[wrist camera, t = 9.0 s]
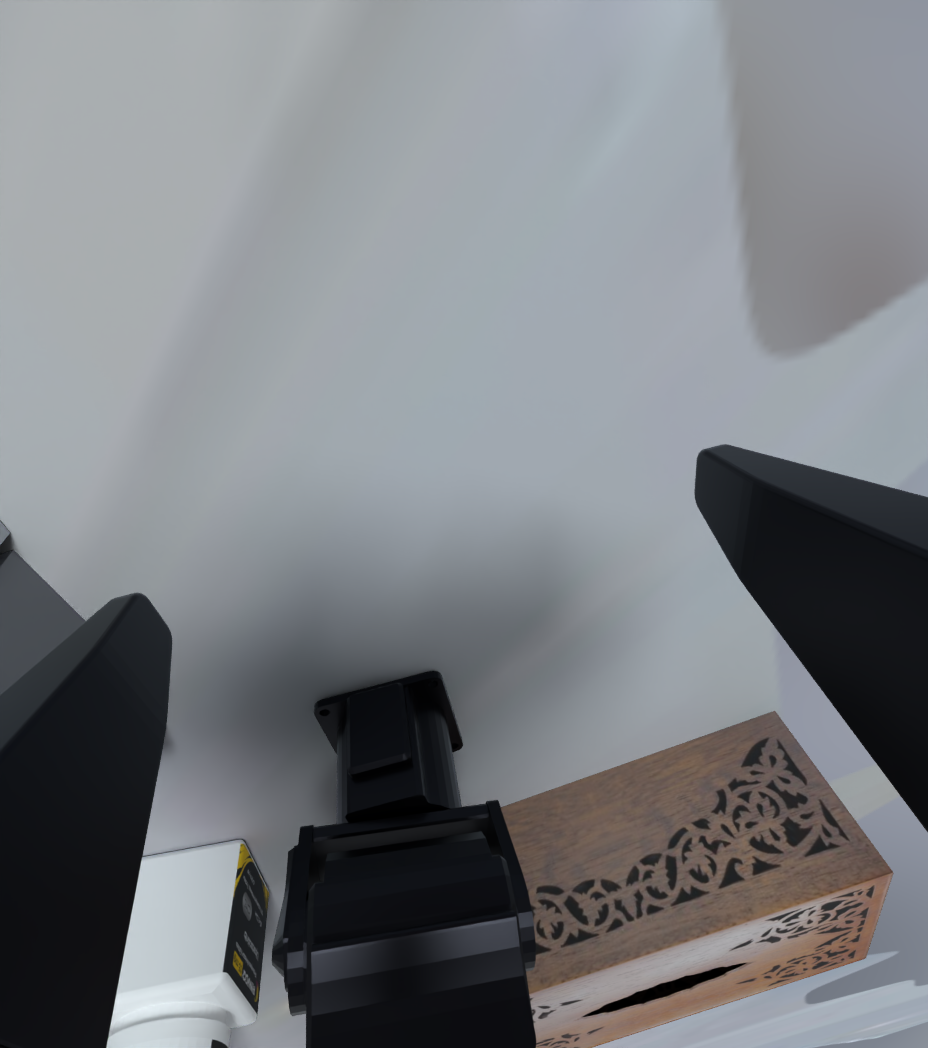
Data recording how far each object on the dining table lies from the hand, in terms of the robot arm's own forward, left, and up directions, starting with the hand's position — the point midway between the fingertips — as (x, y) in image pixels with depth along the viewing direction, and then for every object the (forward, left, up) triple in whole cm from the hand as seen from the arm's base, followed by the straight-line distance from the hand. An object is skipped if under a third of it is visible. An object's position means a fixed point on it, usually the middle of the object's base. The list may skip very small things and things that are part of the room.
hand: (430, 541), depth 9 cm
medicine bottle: (-30, +20, -12) cm, 38 cm away
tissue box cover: (-38, -6, -12) cm, 40 cm away
